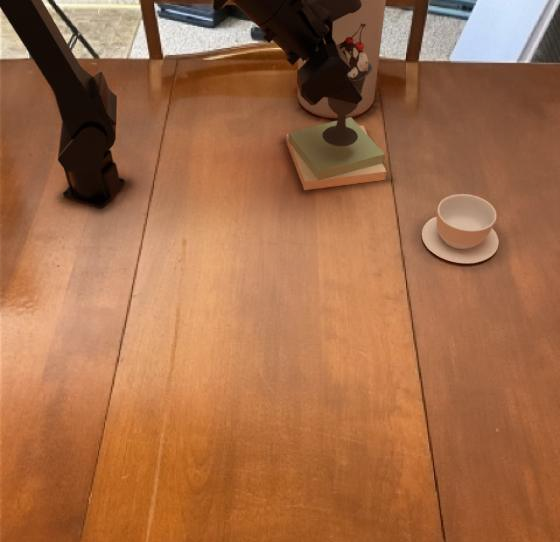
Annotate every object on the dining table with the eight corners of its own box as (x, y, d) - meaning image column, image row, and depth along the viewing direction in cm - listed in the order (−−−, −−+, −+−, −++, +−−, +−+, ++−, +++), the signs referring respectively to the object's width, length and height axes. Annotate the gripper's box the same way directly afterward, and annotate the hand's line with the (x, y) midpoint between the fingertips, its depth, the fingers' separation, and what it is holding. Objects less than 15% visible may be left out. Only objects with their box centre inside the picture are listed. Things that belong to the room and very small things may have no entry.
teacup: (490, 273, 86) (500, 245, 82) (413, 255, 88) (419, 226, 84) (503, 225, 92) (512, 197, 88) (430, 209, 94) (436, 180, 90)
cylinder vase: (365, 126, 106) (384, -51, 87) (288, 113, 108) (290, -62, 89) (380, 86, 114) (401, -86, 94) (308, 75, 116) (314, -95, 96)
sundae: (371, 130, 96) (385, 21, 84) (352, 155, 92) (364, 44, 80) (328, 118, 97) (336, 9, 86) (308, 142, 94) (314, 32, 82)
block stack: (303, 191, 96) (304, 173, 94) (285, 142, 104) (285, 124, 101) (386, 180, 98) (389, 162, 95) (362, 133, 105) (364, 115, 103)
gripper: (338, -17, 70) (423, 80, 80) (309, -83, 81) (386, 8, 91) (262, 62, 75) (350, 144, 85) (245, -11, 87) (324, 68, 96)
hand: (354, 87), depth 89 cm, fingers closed on sundae, 6 cm apart
